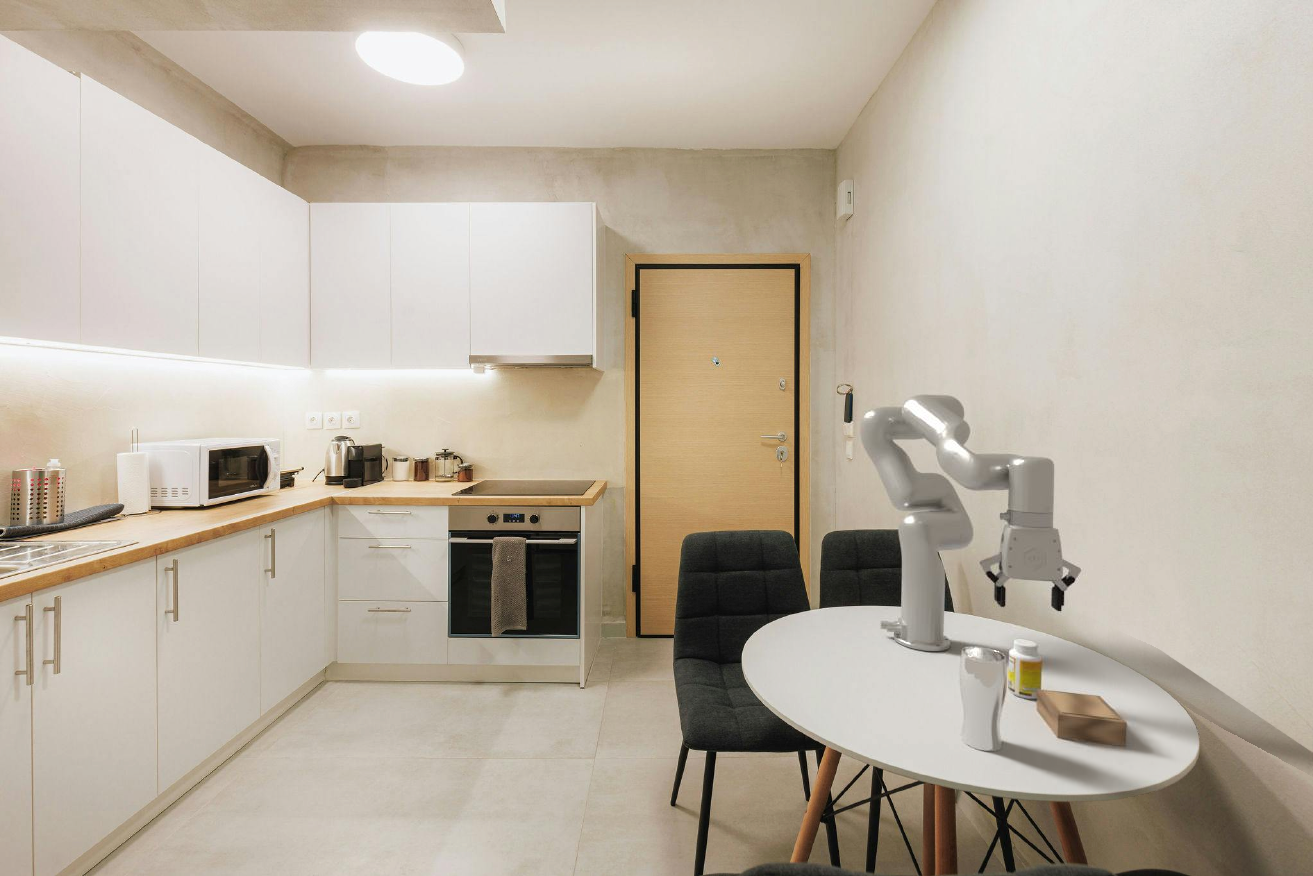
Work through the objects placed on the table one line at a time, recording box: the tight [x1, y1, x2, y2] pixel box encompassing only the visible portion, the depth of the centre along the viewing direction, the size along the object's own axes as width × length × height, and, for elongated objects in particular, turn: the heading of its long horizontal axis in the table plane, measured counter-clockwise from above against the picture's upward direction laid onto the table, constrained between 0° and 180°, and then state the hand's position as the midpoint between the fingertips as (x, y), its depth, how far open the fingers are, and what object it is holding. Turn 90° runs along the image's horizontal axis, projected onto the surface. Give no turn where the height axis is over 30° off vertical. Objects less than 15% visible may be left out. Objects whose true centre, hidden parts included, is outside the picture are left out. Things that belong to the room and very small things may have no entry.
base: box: [1036, 688, 1128, 747], centre depth 106 cm, size 10×10×4 cm
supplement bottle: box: [1007, 638, 1043, 700], centre depth 119 cm, size 6×6×10 cm
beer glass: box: [959, 645, 1008, 752], centre depth 101 cm, size 7×7×15 cm
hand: (1028, 607), depth 118 cm, fingers open, 9 cm apart
